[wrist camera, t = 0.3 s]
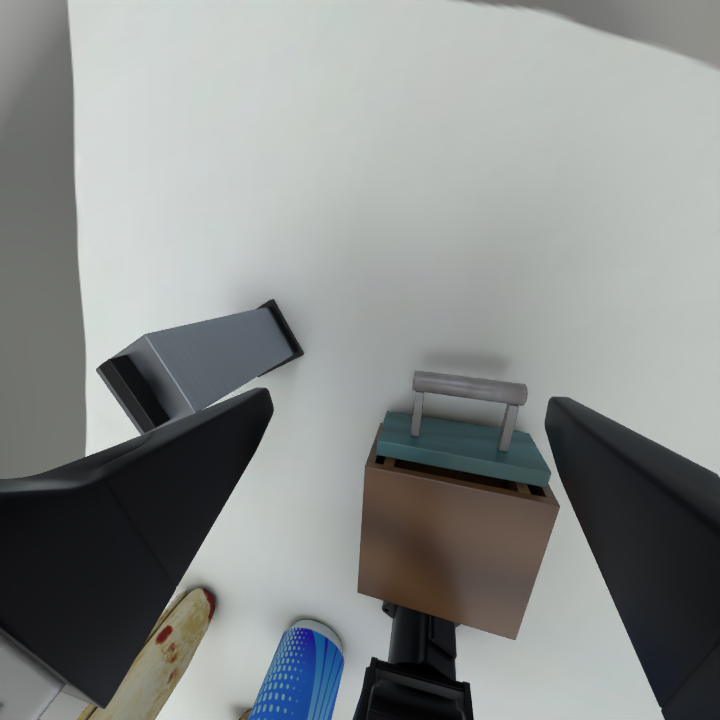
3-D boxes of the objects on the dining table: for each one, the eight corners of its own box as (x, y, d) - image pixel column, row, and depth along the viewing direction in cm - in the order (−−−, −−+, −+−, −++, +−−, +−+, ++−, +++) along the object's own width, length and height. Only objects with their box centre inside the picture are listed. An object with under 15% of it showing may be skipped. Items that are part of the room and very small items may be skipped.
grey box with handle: (304, 353, 26) (192, 426, 14) (260, 376, 28) (127, 457, 16) (273, 298, 25) (126, 326, 13) (230, 325, 27) (66, 371, 15)
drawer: (392, 355, 23) (381, 375, 19) (545, 373, 20) (573, 400, 16) (378, 518, 28) (367, 563, 24) (499, 547, 26) (511, 603, 21)
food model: (216, 629, 43) (50, 903, 24) (179, 606, 44) (-10, 856, 25) (229, 592, 39) (45, 880, 21) (188, 568, 40) (-25, 826, 21)
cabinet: (380, 422, 26) (365, 466, 20) (529, 447, 23) (560, 506, 17) (372, 530, 30) (357, 592, 24) (498, 562, 27) (515, 640, 21)
